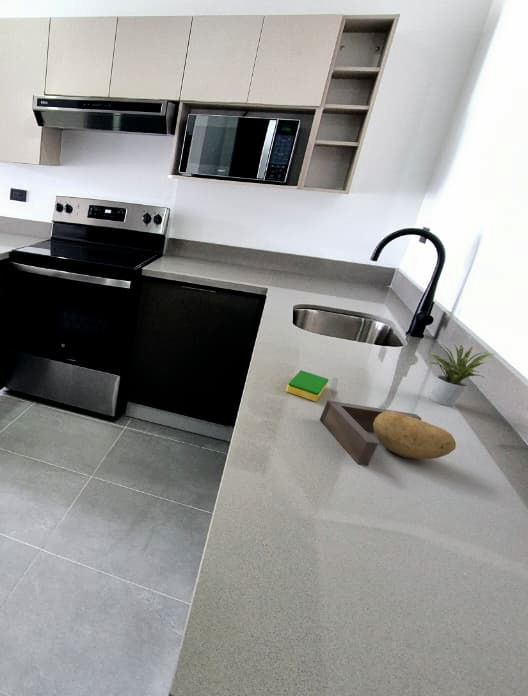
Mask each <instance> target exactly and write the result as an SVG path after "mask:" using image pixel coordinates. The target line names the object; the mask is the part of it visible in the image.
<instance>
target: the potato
mask: <svg viewBox="0 0 528 696" xmlns="http://www.w3.org/2000/svg"><path fill="white" fill-rule="evenodd" d="M393 411H394V410H392V411H386V412H383V413H381V414H379V415H378V416H377V417H376V418H375V420H374V423H373V427H374V432H373V433H374V435H375V437H376V438H377V440H378V442H379V443H380V444H381V445H382V446H383V447H385V448H386V449H387V450H389V451H390V452H392V453H393V454H395V455H397V456H400V457H403V458H406V459H413V460H433V459H438V458H442V457H444V456H447V455H449V454H451V453H452V452H453V451H455V450H456V447H457V446H456V445H457V442H456V440H455V438H454V436H453V433H450V432H449V431H447V430H446V429H444V428H443V427H439V426H436V425H434V424H432V423H430V422H426V421H424V420H422V419H421V420H419V419H417V418H413V417H410V416H407V415H404V414H401V413H397V412H393Z"/></svg>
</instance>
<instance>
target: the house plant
mask: <svg viewBox="0 0 528 696" xmlns="http://www.w3.org/2000/svg"><path fill="white" fill-rule="evenodd" d="M436 343H437V344H439V345H441V346H440V348H441V349H443V350H444V351H445V354H446V355H447V358H448V359H449V361H447V360H445V358H443V357H441V356H439V355H438V354H436V353H435V352H431V351H426V352H427V353H428V354H429V355H431V356H433V358H434V360H435V361H436V362H434V361H432V362H428V365H438V366H439V367H440V369H441V371H442V372H443V374H444V375H442V374H438V375H436V377H435V380H434V382H433V386H432V391H431V394H430V400H431V401H432V402H433V403H436V404H439V405H442V406H445V407H453V406H454V405H455V403H456V402H457V401H458V400H459V399H460V397H461V396H462V395H463V393H464V392H465V391H466V390H467V389H468V387H469V384H468V383H467V382H465V381H463V380H465V379H467V378H469V377H476V376H477V377H482V378H484V380H486V378H485V376H483V375H480V371H479V370H476V368H478V367H479V366H481V365H483V364H486V363H488V362H489V360H487V361H484V360H486V359H488V358H489V357H491V356H493V355H495V353H485V351H484V352H478V353H476V354H473V355H472V356H471V357H470V355H471V353H472V351H473V346H471V347H470V348H469V349H468V350H465V353H464V346H463V344H462V343H459V348H458V346H457V345H456V344H455V343H453V345H454V347H455V351H456V352H455V353H456V360H455V358H454V355H453V353H452V351H451V350H450V349H449V348H448V347H447V346H445V345H444V344H442V343H440V342H437V341H436ZM463 354H464V355H463ZM478 355H479V356H478ZM469 357H470V358H469ZM475 357H476V358H475ZM473 358H474V359H473ZM472 359H473V360H472ZM470 361H471V362H470ZM440 363H441V364H440ZM468 363H469V364H468ZM476 372H477V374H475V373H476Z"/></svg>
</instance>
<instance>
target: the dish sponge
mask: <svg viewBox="0 0 528 696" xmlns="http://www.w3.org/2000/svg"><path fill="white" fill-rule="evenodd" d="M329 381H330V380H329V378H327V377H324V376H320V375H317V374H314V373H311V372H307V371H305V370H302V369H301V370H299V371H298V372H297V373H296V375H295V376H294V377H293V378H291V380H290V381H289V382H288V384H287V387H286V389H285V392H287V393H289V394H292V395H295V396H298V397H300V398H304V399H306V400H309V401H312V402H317V400H318V399H319V398H320V396H321V395H322V394H323V392H324V391H325V389H326V387H327V385H328V383H329Z"/></svg>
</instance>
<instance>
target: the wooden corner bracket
mask: <svg viewBox="0 0 528 696" xmlns="http://www.w3.org/2000/svg"><path fill="white" fill-rule="evenodd" d="M386 411H393V412H397V413H401V414H404V415H407V416H410V417H413V418H417V419H419V420H422V417H421V416H419V415H418V414H417V413H411V412H406V411H405V412H403V411H399V410H398V411H397V410H391V409H385V408H379V407H373V406H367V405H361V404H354V403H347V402H341V401H334V400H329V399H328V400H326V403H325V405H324V408H323V410H322V413H321V415H320V418H319V421H320V422H321V423H322V425H323V426H324V427H325V428H326V429H327V430H328V431H329V433H330V434H331V435H332V436H333V438H334V439H335V440H336V441H337V442H338V443H339V444H340V445H341V447H342V448H343V449H344V451H346V452H347V454H348V455H349V456H350V457H351V458H352V459H353V461H354V462H355V463H356V464H357V465H362V466H368V465H369V464H370V462H371V459H372V457H373V456H374V453H375V451H376V449H377V447H378V445H379V443H378V442H377V441H376V440H375V439H374V438H373V437H372V436H371V435H370V433H371V432H372V433H374V427H373V423H374V420H375V418H376V417H377V416H378V415H379V414H381V413H383V412H386ZM368 432H370V433H368Z"/></svg>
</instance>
